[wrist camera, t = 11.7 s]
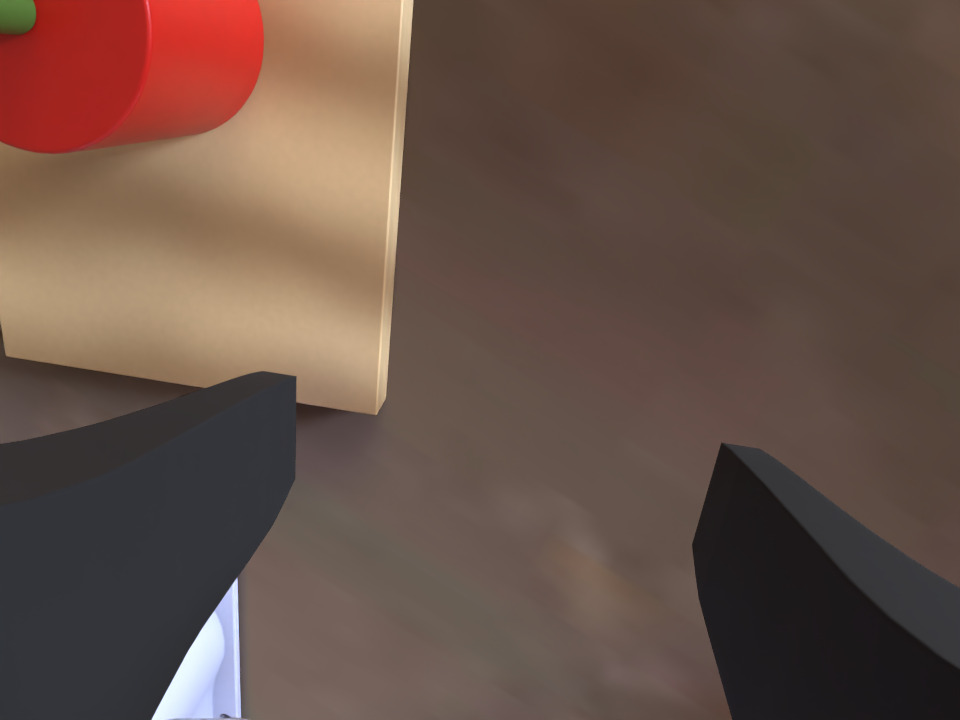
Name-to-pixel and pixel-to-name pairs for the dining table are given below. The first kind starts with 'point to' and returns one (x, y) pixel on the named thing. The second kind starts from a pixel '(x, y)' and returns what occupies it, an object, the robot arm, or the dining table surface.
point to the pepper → (123, 70)
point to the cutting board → (229, 225)
